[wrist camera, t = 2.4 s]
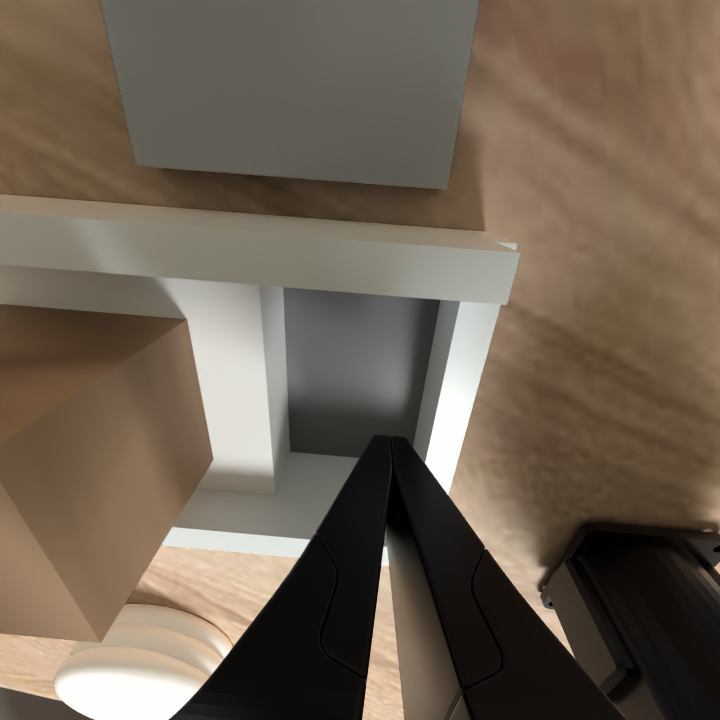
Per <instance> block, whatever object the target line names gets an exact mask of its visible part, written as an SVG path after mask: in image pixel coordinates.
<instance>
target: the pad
mask: <svg viewBox="0 0 720 720" xmlns="http://www.w3.org/2000/svg"><path fill="white" fill-rule="evenodd" d="M479 1H480V0H100V4H101V9H102V13H103V18H104V22H105V27H106V32H107V36H108V41H109V46H110V50H111V55H112V59H113V64H114V69H115V73H116V78H117V82H118V87H119V92H120V96H121V101H122V106H123V110H124V115H125V119H126V124H127V129H128V133H129V138H130V142H131V147H132V152H133V156H134V161H135V165H136V166H144V167H154V168H165V169H178V170H191V171H204V172H218V173H231V174H244V175H257V176H270V177H283V178H297V179H310V180H323V181H336V182H349V183H363V184H376V185H389V186H402V187H415V188H428V189H448V183H449V177H450V171H451V165H452V160H453V154H454V148H455V142H456V136H457V130H458V124H459V118H460V113H461V107H462V101H463V95H464V89H465V83H466V77H467V71H468V65H469V60H470V54H471V48H472V42H473V36H474V30H475V24H476V18H477V13H478V7H479Z"/></svg>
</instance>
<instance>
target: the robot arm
mask: <svg viewBox="0 0 720 720" xmlns="http://www.w3.org/2000/svg"><path fill="white" fill-rule="evenodd" d="M385 531H386V540H387V550H388V560H389V570H390V580H391V590H392V600H393V610H394V620H395V630H396V640H397V650H398V660H399V670H400V680H401V690H402V700H403V709H404V719H405V720H720V574H719V573H718V572H717V571H716V569H715V568H714V567H715V566H716V565H717V564H718V563H719V562H720V534H717V533H705V532H694V531H683V530H672V529H661V528H649V527H638V526H627V525H616V524H605V523H587V524H585V525H583V526H581V528H580V529H579V530H578V532H577V534H576V535H575V537H574V539H573V540H572V542H571V544H570V546H569V547H568V549H567V551H566V552H565V554H564V556H563V557H562V559H561V561H560V563H559V564H558V566H557V568H556V569H555V571H554V573H553V574H552V576H551V578H550V580H549V581H548V583H547V585H546V586H545V588H544V590H543V591H542V593H541V595H540V598H541V600H542V603H543V605H544V607H546V608H548V609H555V611H556V614H557V616H558V618H559V621H560V623H561V625H562V628H563V630H564V633H565V635H566V637H567V640H568V642H569V644H570V647H571V649H572V652H573V654H574V656H575V658H574V657H573V656H572V655H571V654H570V652H569V651H568V650H567V649H566V648H565V647H564V645H563V644H562V643H561V642H560V641H559V640H558V638H557V637H556V636H555V635H554V634H553V633H552V631H551V630H550V629H549V628H548V627H547V626H546V624H545V623H544V622H543V621H542V620H541V618H540V617H539V616H538V615H537V614H536V612H535V611H534V610H533V609H532V607H531V606H530V605H529V604H528V603H527V601H526V600H525V599H524V598H523V597H522V595H521V594H520V593H519V592H518V590H517V589H516V588H515V586H514V585H513V584H512V582H511V581H510V580H509V578H508V577H507V576H506V574H505V573H504V572H503V570H502V569H501V568H500V566H499V565H498V564H497V562H496V561H495V560H494V558H493V557H492V555H491V554H490V553H489V551H488V550H487V549H485V546H484V544H483V543H482V542H481V540H480V539H479V537H478V536H477V535H476V533H475V532H474V531H473V529H472V528H471V526H470V525H469V524H468V522H467V521H466V519H465V518H464V517H463V515H462V514H461V512H460V511H459V510H458V508H457V507H456V505H455V504H454V503H453V501H452V500H451V499H450V497H449V496H448V494H447V493H446V492H445V490H444V489H443V487H442V486H441V485H440V483H439V482H438V480H437V479H436V478H435V476H434V475H433V473H432V472H431V471H430V469H429V468H428V467H427V465H426V464H425V462H424V461H423V460H422V458H421V457H420V455H419V454H418V453H417V451H416V450H415V448H414V447H413V446H412V444H411V443H410V441H409V440H408V439H407V438H406V437H404V436H391V437H389V436H388V435H382V434H374V435H373V436H372V438H371V440H370V441H369V443H368V445H367V446H366V448H365V450H364V451H363V453H362V455H361V456H360V458H359V460H358V461H357V463H356V465H355V466H354V468H353V470H352V471H351V473H350V475H349V476H348V478H347V480H346V481H345V483H344V485H343V486H342V488H341V490H340V491H339V493H338V495H337V496H336V498H335V500H334V501H333V503H332V505H331V506H330V508H329V510H328V512H327V513H326V515H325V517H324V518H323V520H322V522H321V523H320V525H319V527H318V528H317V530H316V534H314V535H313V536H312V538H311V540H310V541H309V543H308V545H307V546H306V548H305V550H304V551H303V553H302V554H301V556H300V557H299V559H298V560H297V562H296V564H295V565H294V567H293V568H292V570H291V571H290V573H289V574H288V575H287V577H286V578H285V580H284V581H283V582H282V584H281V585H280V586H279V588H278V589H277V591H276V592H275V593H274V595H273V596H272V597H271V599H270V600H269V601H268V603H267V604H266V605H265V606H264V608H263V609H262V610H261V612H260V613H259V614H258V615H257V617H256V618H255V619H254V621H253V622H252V623H251V625H250V626H249V627H248V628H247V630H246V631H245V632H244V634H243V635H242V636H241V637H240V639H239V640H238V641H237V643H236V644H235V645H234V646H233V648H232V649H231V650H230V652H229V653H228V654H227V656H226V657H225V658H224V659H223V661H222V662H221V663H220V665H219V666H218V667H217V668H216V670H215V671H214V672H213V673H212V674H211V676H210V677H209V678H208V679H207V681H206V682H205V683H204V684H203V685H202V686H201V687H200V689H199V690H198V691H197V692H196V693H195V694H194V695H193V696H192V697H191V698H190V699H189V701H188V702H187V703H186V704H185V705H184V706H183V707H182V708H181V709H180V710H178V711H177V712H176V713H175V714H174V715H173V716H172V717H171V718H170V719H169V720H362V716H363V708H364V699H365V691H366V682H367V675H368V667H369V659H370V651H371V643H372V635H373V627H374V619H375V611H376V603H377V595H378V587H379V579H380V571H381V563H382V555H383V547H384V539H385ZM484 549H485V550H484ZM575 659H576V660H575Z"/></svg>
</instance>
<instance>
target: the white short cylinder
mask: <svg viewBox="0 0 720 720" xmlns="http://www.w3.org/2000/svg"><path fill="white" fill-rule="evenodd" d="M232 648H233V646H232V644H231V642H230V640H229V639H228V638H227V636H226V635H225V634H224V633H223V632H222V631H220V630H219V629H218V628H217V627H215V626H213V625H212V624H210V623H209V622H207V621H205V620H203V619H201V618H199V617H197V616H194V615H192V614H189V613H186V612H184V611H180V610H177V609H173V608H169V607H164V606H158V605H150V604H125V605H124V606H123V608H122V610H121V611H120V613H119V614H118V616H117V618H116V619H115V621H114V623H113V624H112V626H111V627H110V629H109V631H108V632H107V634H106V636H105V637H104V639H103V640H102V642H101V643H95V642H85V641H77V642H76V643H75V644H74V646H73V649H72V651H71V654H70V657H69V658H67V659H66V660H65V661H64V662H63V663H62V664H61V665H60V667H59V668H58V670H57V672H56V675H55V678H54V686H55V692H56V693H57V695H58V696H59V698H60V699H61V700H62V701H63V702H65V703H66V704H67V705H68V706H70V707H71V708H73V709H75V710H76V711H78V712H80V713H82V714H84V715H86V716H88V717H90V718H92V719H95V720H169V719H170V718H171V717H172V716H173V715H174V714H175V713H176V712H177V711H178V710H180V709H181V708H182V707H183V706H184V705H185V704H186V703H187V702H188V701H189V699H190V698H191V697H192V696H193V695H194V694H195V693H196V692H197V691H198V690H199V689H200V687H201V686H202V685H203V684H204V683H205V682H206V681H207V679H208V678H209V677H210V676H211V674H212V673H213V672H214V671H215V670H216V668H217V667H218V666H219V665H220V663H221V662H222V661H223V659H224V658H225V657H226V656H227V654H228V653H229V652H230V650H231V649H232Z"/></svg>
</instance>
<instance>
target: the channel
mask: <svg viewBox="0 0 720 720" xmlns="http://www.w3.org/2000/svg"><path fill="white" fill-rule="evenodd" d="M517 245H518V244H517V243H515V242H512V241H509V240H507V239H504V238H501V237H499V236H496V235H493V234H491V233H488V232H484V231H471V230H458V229H445V228H432V227H419V226H406V225H394V224H381V223H368V222H355V221H342V220H329V219H316V218H303V217H290V216H277V215H265V214H252V213H239V212H226V211H213V210H200V209H187V208H174V207H161V206H148V205H135V204H123V203H110V202H97V201H84V200H71V199H58V198H45V197H32V196H19V195H6V194H0V304H8V305H20V306H32V307H44V308H56V309H69V310H81V311H93V312H105V313H117V314H129V315H142V316H154V317H166V318H178V319H187V321H188V326H189V332H190V337H191V342H192V348H193V353H194V358H195V363H196V369H197V374H198V379H199V385H200V390H201V395H202V400H203V406H204V411H205V416H206V422H207V427H208V432H209V437H210V443H211V448H212V453H213V459H214V460H213V462H212V463H211V465H210V466H209V468H208V470H207V471H206V473H205V475H204V476H203V478H202V479H201V481H200V483H199V484H198V486H197V488H196V489H195V491H194V492H193V494H192V496H191V497H190V499H189V501H188V502H187V504H186V505H185V507H184V509H183V510H182V512H181V514H180V515H179V517H178V518H177V520H176V522H175V523H174V525H173V527H172V528H171V530H170V531H169V533H168V535H167V536H166V538H165V540H164V541H163V543H162V544H161V545H165V546H176V547H187V548H198V549H209V550H220V551H231V552H242V553H252V554H263V555H274V556H285V557H296V558H299V557H300V556H301V554H302V553H303V551H304V550H305V548H306V546H307V545H308V543H309V541H310V540H311V538H312V536H313V535H314V534H316V530H317V528H318V527H319V525H320V523H321V522H322V520H323V518H324V517H325V515H326V513H327V512H328V510H329V508H330V506H331V505H332V503H333V501H334V500H335V498H336V496H337V495H338V493H339V491H340V490H341V488H342V486H343V485H344V483H345V481H346V480H347V478H348V476H349V475H350V473H351V471H352V470H353V468H354V466H355V465H356V463H357V461H358V460H359V458H360V456H361V455H362V453H363V451H364V450H365V448H366V446H367V445H368V443H369V441H370V440H371V438H372V436H373V435H374V434H382V435H388V436H389V437H391V436H404V437H406V438H407V439H408V440H409V441H410V443H411V444H412V446H413V447H414V448H415V450H416V451H417V453H418V454H419V455H420V457H421V458H422V460H423V461H424V462H425V464H426V465H427V467H428V468H429V469H430V471H431V472H432V473H433V475H434V476H435V478H436V479H437V480H438V482H439V483H440V485H441V486H442V487H443V489H444V490H445V492H446V493H447V494H449V490H450V486H451V483H452V479H453V476H454V472H455V468H456V465H457V461H458V458H459V454H460V450H461V447H462V443H463V440H464V436H465V432H466V429H467V425H468V422H469V418H470V414H471V411H472V407H473V404H474V400H475V396H476V393H477V389H478V386H479V382H480V378H481V375H482V371H483V368H484V364H485V360H486V357H487V353H488V350H489V346H490V342H491V339H492V335H493V332H494V328H495V324H496V321H497V317H498V314H499V310H500V306H501V305H507V303H508V299H509V296H510V292H511V289H512V285H513V282H514V278H515V275H516V271H517V268H518V264H519V261H520V257H521V254H522V253H520V252H518V251H516V249H517ZM381 565H383V566H389V560H388V550H387V540H386V531H385V539H384V547H383V555H382V563H381Z"/></svg>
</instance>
